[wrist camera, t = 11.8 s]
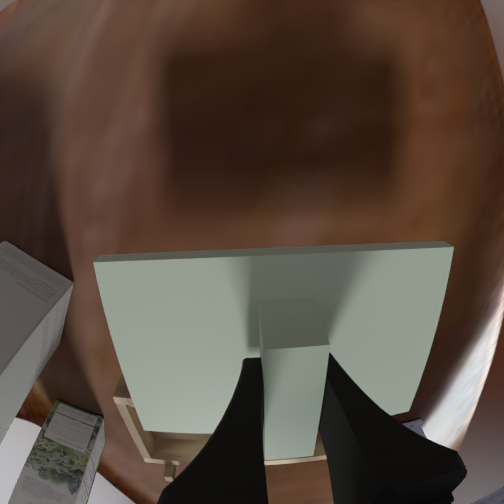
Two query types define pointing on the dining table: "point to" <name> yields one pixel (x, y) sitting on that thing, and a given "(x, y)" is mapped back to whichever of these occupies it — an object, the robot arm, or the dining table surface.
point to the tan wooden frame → (178, 439)
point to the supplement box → (27, 325)
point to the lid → (271, 330)
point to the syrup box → (62, 458)
